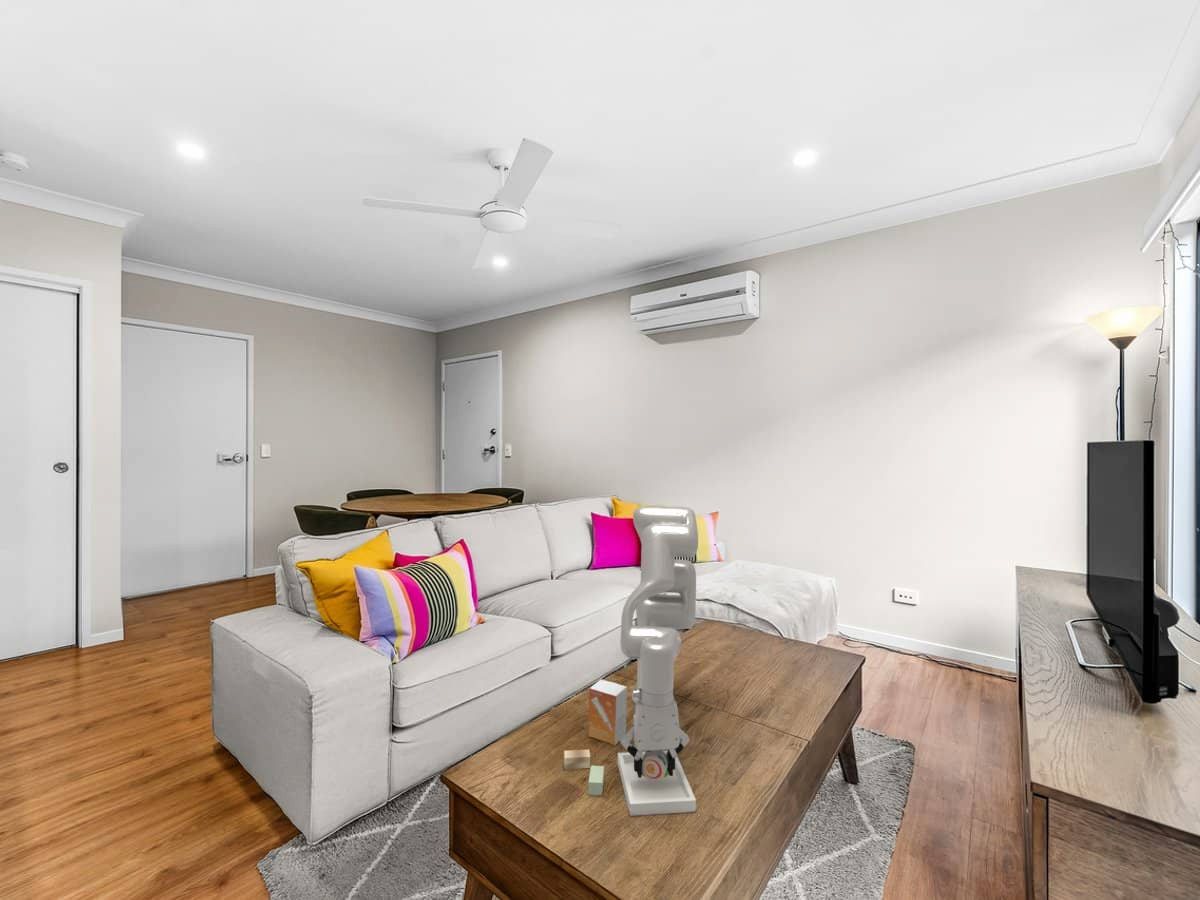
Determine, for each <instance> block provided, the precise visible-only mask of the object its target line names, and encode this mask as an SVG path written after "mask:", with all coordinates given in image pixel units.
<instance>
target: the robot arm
mask: <svg viewBox="0 0 1200 900" xmlns="http://www.w3.org/2000/svg"><path fill="white" fill-rule="evenodd" d="M632 519H633V525H634V528H635V530H636V532H637V535H638V537H639V541H640V543H641V550H640V553H641V554H640V555H641V556H640V557H641V558H640V559H641V561H640V582H639V584H638V586H637V587H636V588H635V589H634V590H633V591H632V592H631V593H630V595H629V596H628V598H627V599H626V600H625V603H624V606H623V608H622V612H621V624H620V650H621V653H622V654H623V655H624V657H626V658H629V659H635V660H637V668H636V669H637V672H636V674H637V677H636V678H637V679H636V689H634V690H633V691H632V692H631V701H632V702H633V703H634V704H635V705H634V711H633V718H632V726H631V728H630V729H629V730H628V731H626V734H625V735H624V736H623V737H622V738H621V739H620V741H619V742H620V744H621V745H622V747H623V748H624V749H626V750H627V753H628V752H629V753H630V754H631V755H632V756H633V757H634V771H635V772H637V774H638V778H641V777H642V759H641V755H642V753H643V752H646V751H653V750H662V751H668V752H667V757H668V768H667V769H668V772H669V775H670V776H673V770H675V758H677V757H678V755H679V753H680V752H682V751H683V750H684V747H686V746H687V744H688V743H689V742H690V737H689V735H688V734H687V733H685V731H684V730H682V728H681V727H680V720H679V718H680V717H679V709H678V704H677V703H678V702H677V701H676V700H675V696H674V675H675V674H674V673H675V672H674V671H675V670H674V668H675V667H674V666H675V661H676V659H677V657H678V655H679V654H680V652H681V648H682V647H681V646H682V640H681V635H680V633H679V632H678V631H677V629H679V630H685V629H690V628H692V627H693V626H694V624H695V621H696V611H697V609H696V605H697V604H696V602H697V571H696V567H695V565H694V564H693V562H692V561H689V560H687V559H675V558H676V557H677V558H693V557H695V556H696V554H697V552H698V549H699V531H698V524H697V518H696V513H695V511H694V510H693V509H692V508H691V507H686V506H668V505H667V506H665V505H642V506H638V507H637V508H635V509H634V510H633V515H632ZM662 593H663V594H662ZM664 593H675V594H664ZM634 615H635V616H636V623H637V625H635V624H633V618H634ZM632 739H633V744H634V745H633V744H632V743H630V741H632Z"/></svg>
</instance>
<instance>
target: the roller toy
mask: <svg viewBox="0 0 1200 900" xmlns="http://www.w3.org/2000/svg"><path fill="white" fill-rule="evenodd" d="M663 751H664V750H653V751H645V752H646V753H645V754H644V756H643V758H642V776H644V777H646V778H648V779H649V780H652V781H658V780H660V779H662V778H663V777H667V776H668V774H669V772H668V769H667V768H668V757H667V755H666V754H665V753H664V752H663Z"/></svg>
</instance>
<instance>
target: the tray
mask: <svg viewBox="0 0 1200 900" xmlns="http://www.w3.org/2000/svg"><path fill="white" fill-rule="evenodd" d="M662 751H663V752H664V753H665V754H666V755H667V752H668V751H669V750H662ZM645 753H646V751H643V753H642V755H641V759H642V758H643V756H644V754H645ZM617 767H618V770H619V775H620V780H621V783H622V784H621V785H622V788H623V792H624V797H625V800H626V805H627V808H628V809H627V810H628V813H629V816H630V817H632V816H633V817H634V816H648V815H649V816H651V815H652V816H653V815H663V814H664V815H670V814H680V813H682V814H683V813H696V811H697V799H696V797H695V794H694V793H693V790H692V787H691V785H690V783H689V781H688V778H687V776H686V774H685V772H684V769H683V767H682V763H681V762H680V759H679V756H677V758H675V770H673V776H670V775H669V774H668V776H667V777H663V778H662V779H660V780H658V781H652V780H649V779H648V778H646V777H644V776H642V777H641V778H638V774H637V772H635V771H634V757H633V756H632V755H631V754H630V753H629V752H628V751H627V752H617Z"/></svg>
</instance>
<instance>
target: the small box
mask: <svg viewBox="0 0 1200 900" xmlns="http://www.w3.org/2000/svg"><path fill="white" fill-rule="evenodd" d="M627 692H628V686H626V685H622V684H619V683H617V682H613V681H608V680H605V679H601V678H600V679H599V680H598V681H597V682H596V683H594V684H593V685H592V686H591V687H589V699H588V700H589V701H588V704H589V705H588V729H587V731H588V732H587V733H588V737H590V738H593V739H595V740H599V741H602V742H605V743H607V744H610V745H613V746H616V745H617V744H618V743H619V742H621V741H620V739H621V738H622V737H623V736H624V735H625V734H626V733H627V703H628V702H627V700H628V699H627V697H628V695H627V694H628V693H627Z"/></svg>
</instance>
